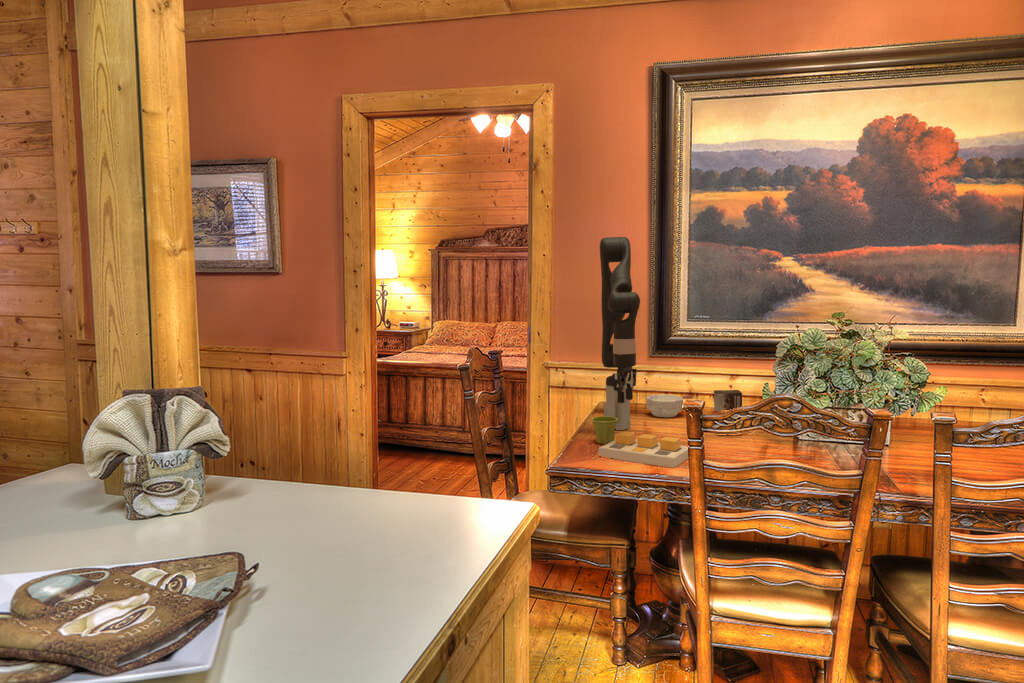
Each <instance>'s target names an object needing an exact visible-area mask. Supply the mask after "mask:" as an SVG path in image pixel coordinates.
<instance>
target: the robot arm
mask: <svg viewBox="0 0 1024 683" xmlns="http://www.w3.org/2000/svg"><path fill="white" fill-rule="evenodd" d="M631 251H632V250H631V242H630V240H629V238H628V237H626V236H612V237H602V238H601V240H600V242H599V259H600V272H601V300H600V301H601V321H602V332H601V334H602V335H601V363H602V365H603V367H604V368H608V369H610V368H614V369H615V368H616V369H617V370H616V373H614V372H613V373H612V374H611V375H609V376H607V377H606V379H605V398H606V399H605V403H604V404H603V405H604V408H603V410H604V412H603V413H604V414H603V415H604V416H608V417H615V418H617V419H618V421H617V423H616V427H615V429H616V430H615V431H623V430H624V431H625V429H626V430H629V429H631V401H632V400H633V398H634V394H633V393H634V392H633V389H634V387H636V386H637V372H638V371H637V370H638V369H637V368H633V367H635V366H636V365H637V345H636V320H637V316H638V313H639V309H640V306H641V305H640V304H641V297H640V296H639V294H638V293H637V292H634V291H633V284H632V278H631V265H632V260H631V259H632V257H631V256H632V255H631V254H632V252H631ZM610 263H618V264H617V265H616V267H615V268H614V269H613V270H612V271H611V267H610ZM626 314H628V316H627V317H626V318H625V315H626ZM612 338H613V342H612V343H611V341H612Z"/></svg>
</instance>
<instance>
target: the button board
mask: <svg viewBox="0 0 1024 683" xmlns="http://www.w3.org/2000/svg"><path fill="white" fill-rule="evenodd" d="M599 456H603V457H608V458H607V459H610V458H613V459H612V460H617V459H618V460H619V461H623V462H624V461H625V462H631V463H637V464H638V463H639V464H643V465H644V464H645V465H652V466H656V467H657V466H658V467H659V466H660V467H665V468H672V469H675V468H676V467H677V466H679V465H681V464H683V462H685V461H686V460H688V459H689V458H688V447H687V445H681V448H679V449H677V450H676V451H672V450H664V449H660V442H658V445H656V446H654V447H652V448H649V447H642V446H638V444H637V439H636V442H634V443H632V444H630V445H626V444H619V443H616V439H614V441H612V442H610V443H608V444H603V445H602V446H600V447H598V457H599ZM603 457H602V458H603ZM618 460H617V461H618Z"/></svg>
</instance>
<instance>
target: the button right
mask: <svg viewBox="0 0 1024 683" xmlns="http://www.w3.org/2000/svg"><path fill="white" fill-rule="evenodd" d="M681 439H682V438H680V437H673V436H672V437H671V436H665V437H663V438H661V439H660V440H659V443H660V449H664V450H672V451H676V450H677V449H679V448H681V446H682V444H681V443H682V440H681Z"/></svg>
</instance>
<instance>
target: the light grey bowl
mask: <svg viewBox="0 0 1024 683" xmlns="http://www.w3.org/2000/svg"><path fill="white" fill-rule="evenodd" d="M645 399H646V409H647V410H648V411H650V413H651V415H652V416H654V417H657V418H662V417H663V418H667V419H669V418H674V417H677V416H678V414H679V412H680V411H683V409H682V405H683V406H684V398H683V397H682V396H679V395H674V394H665V393H664V394H661V393H659V394H652V395H651V394H650V395H647V397H646V398H645ZM663 418H662V419H663Z"/></svg>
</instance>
